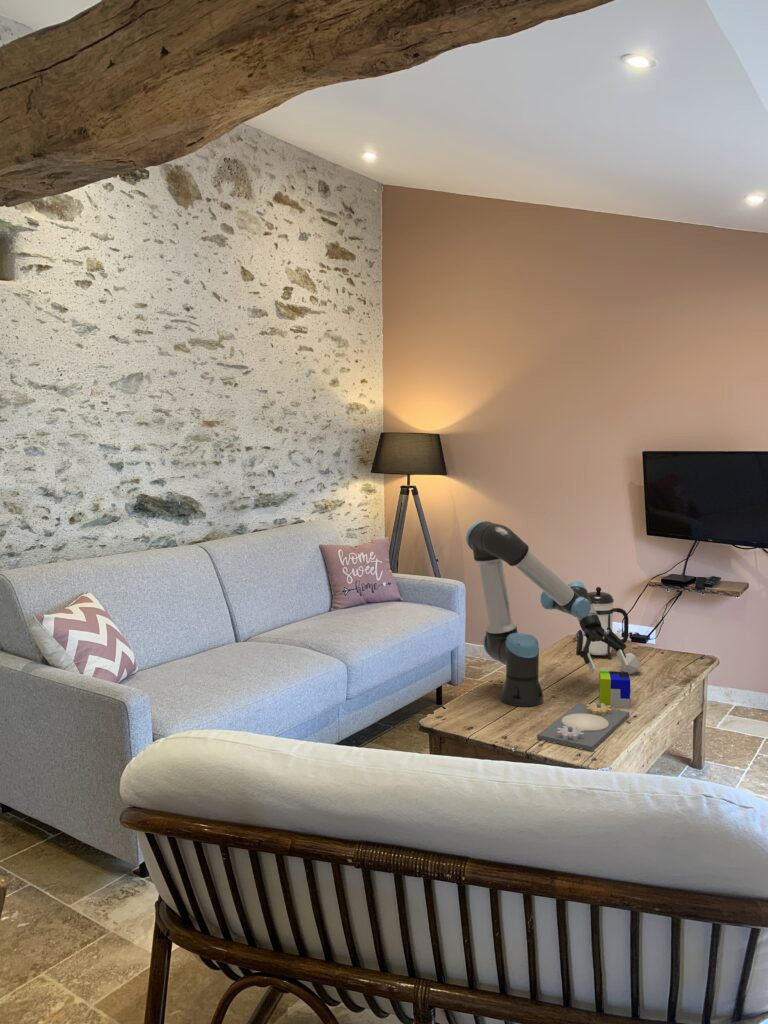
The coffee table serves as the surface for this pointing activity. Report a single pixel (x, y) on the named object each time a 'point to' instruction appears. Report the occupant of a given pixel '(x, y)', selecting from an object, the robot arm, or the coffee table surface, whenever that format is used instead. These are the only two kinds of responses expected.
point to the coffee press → (604, 621)
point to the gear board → (584, 726)
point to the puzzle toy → (614, 688)
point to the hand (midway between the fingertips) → (609, 668)
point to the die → (631, 664)
